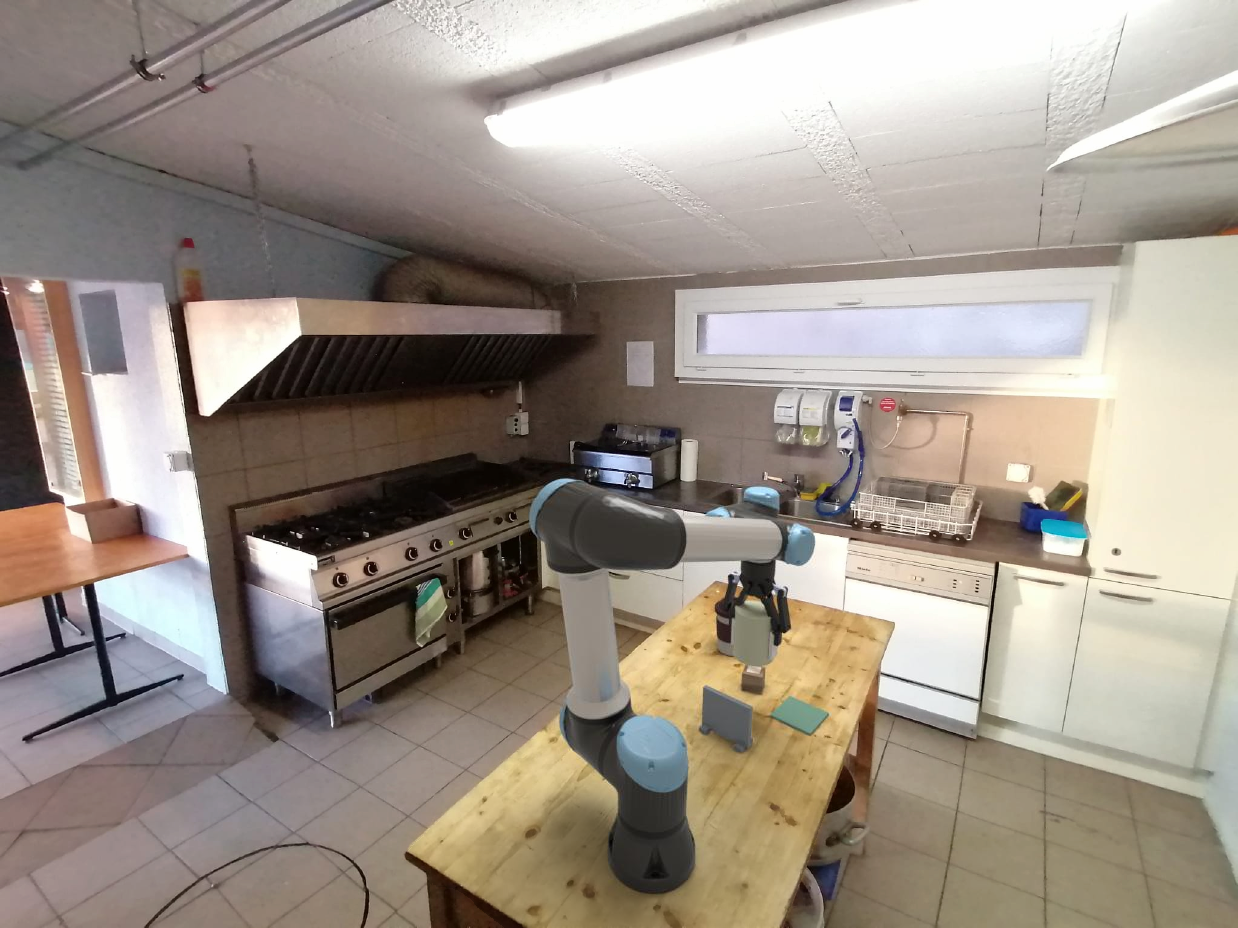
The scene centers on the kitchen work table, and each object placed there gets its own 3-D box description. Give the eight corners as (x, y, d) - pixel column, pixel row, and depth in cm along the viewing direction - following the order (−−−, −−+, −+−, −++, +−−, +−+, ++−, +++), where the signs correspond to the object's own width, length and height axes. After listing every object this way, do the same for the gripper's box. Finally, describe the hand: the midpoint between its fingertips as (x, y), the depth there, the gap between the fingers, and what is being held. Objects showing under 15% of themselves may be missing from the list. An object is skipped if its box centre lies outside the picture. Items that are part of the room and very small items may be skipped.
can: (775, 668, 130) (778, 618, 128) (732, 664, 132) (734, 614, 129) (772, 647, 139) (775, 600, 136) (732, 643, 141) (735, 596, 138)
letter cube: (761, 695, 148) (762, 676, 147) (741, 690, 149) (742, 672, 148) (764, 684, 152) (765, 666, 151) (745, 680, 154) (745, 662, 153)
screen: (743, 754, 127) (745, 713, 124) (696, 729, 134) (698, 690, 132) (755, 742, 130) (757, 702, 128) (709, 719, 138) (710, 681, 136)
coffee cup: (753, 647, 170) (756, 598, 167) (740, 662, 162) (743, 612, 159) (721, 637, 175) (723, 590, 172) (707, 652, 167) (709, 603, 164)
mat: (810, 735, 133) (810, 733, 132) (769, 716, 139) (770, 714, 139) (828, 714, 140) (828, 712, 140) (789, 697, 146) (789, 695, 146)
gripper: (812, 564, 126) (805, 659, 131) (725, 541, 140) (721, 628, 145) (797, 574, 121) (790, 674, 125) (707, 549, 135) (704, 639, 139)
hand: (753, 649), depth 135 cm, fingers closed on can, 9 cm apart
